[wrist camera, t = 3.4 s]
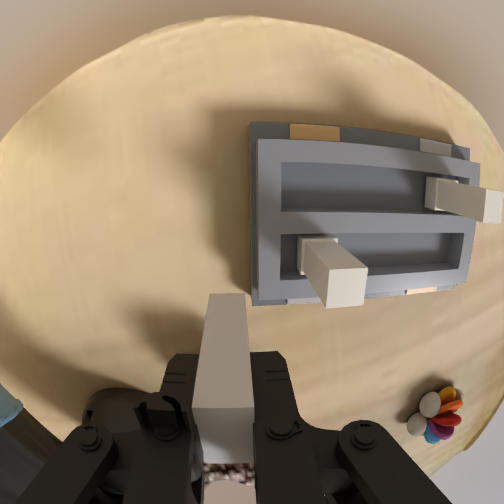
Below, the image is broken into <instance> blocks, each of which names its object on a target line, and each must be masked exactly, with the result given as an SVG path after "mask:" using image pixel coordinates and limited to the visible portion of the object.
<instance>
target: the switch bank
mask: <svg viewBox="0 0 504 504" xmlns="http://www.w3.org/2000/svg"><path fill="white" fill-rule="evenodd" d="M426 176H428V177H436V178H443V179H450V180H456V181H458V183H461V184H466V185H471V186H477V187H479V181H480V164H479V163H475V162H471V161H470V148H466V147H462V146H458V145H453V144H449V143H445V142H440V141H435V140H431V139H426V138H420V137H415V136H410V135H404V134H398V133H391V132H385V131H377V130H370V129H362V128H353V127H343V126H332V125H319V124H303V123H277V122H250V124H249V185H250V265H251V300H252V306H265V305H285V304H303V303H319V302H322V301H321V300H320V298H319V296H318V295H317V293H316V292H315V290H314V288H313V287H312V285H311V283H310V282H309V280H308V279H307V277H306V276H305V275H301V274H300V273H299V271H298V269H297V240H298V234H329V233H331V234H333V235H334V236H335V237H337V238H338V244H340V245H341V246H342V247H343V248H345V249H346V250H347V251H348V252H350V253H351V254H352V255H353V256H354V257H356V258H357V259H358V260H359V261H361V262H362V263H363V264H364V265H365V266H367V267H368V273H367V281H366V288H365V295H364V299H368V298H379V297H389V296H398V295H407V294H416V293H424V292H432V291H440V290H447V289H454V287H455V284H461V283H466V278H467V274H468V269H469V264H470V259H471V253H472V247H473V241H474V234H475V226H476V220H473V219H470V218H467V217H464V216H461V215H458V214H455V213H452V212H448V211H442V210H433V209H429V208H426V207H425V193H426Z"/></svg>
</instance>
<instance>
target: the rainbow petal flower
mask: <svg viewBox="0 0 504 504" xmlns="http://www.w3.org/2000/svg"><path fill="white" fill-rule="evenodd" d="M463 402H464V395H463V393H462V391H461V390H459V389H456V388H453V387H450V386H449V387H446V388H444V389H442V390H441V391H440V392H439V393H438V394H437V393H436V392H429V393H427V394H426V395H424V396H423V398H422V399H421V401H420V405H419V409H420V412H417V413H415V414H413V415H412V416H411V417H410V418H409V420H408V423H407V429H408V432H409V433H410V434H411V435H413V436H424V437H425V439H426V441H427V442H428V443H431V444H435V443H438V442H439V441H440V440H441V439H442V440H446V439H448V438H450V437H451V436H452V435H453V433H454V426H457V425H459V424H460V422H461V417H460V416H459V415H457V414H454V412H456V411H458V410H459V409H460V408H461V407H462V405H463Z"/></svg>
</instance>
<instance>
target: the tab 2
mask: <svg viewBox="0 0 504 504" xmlns="http://www.w3.org/2000/svg"><path fill="white" fill-rule="evenodd" d="M503 194H504V192H501V191H496V190H491V189H487V188H482V187H477V186H471V185H466V184H461V183H458V181H456V180H450V179H443V178H436V177H428V176H426V193H425V207H426V208H429V209H433V210H442V211H448V212H452V213H455V214H458V215H461V216H464V217H467V218H470V219H473V220H476V221H479V222H482V223H497V224H501V216H502V206H503Z"/></svg>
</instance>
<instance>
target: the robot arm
mask: <svg viewBox="0 0 504 504" xmlns="http://www.w3.org/2000/svg"><path fill="white" fill-rule="evenodd" d="M203 458H204V462H205V463H254V471H255V490H256V503H257V504H326V500H325V496H326V497H327V499H328V501H329V502H330V504H452V503H451V502H450V501H449V500H448V499H447V497H446V496H445V495H444V494H443V493H442V492H441V491H440V490H439V489H438V488H437V487H436V486H435V484H434V483H433V482H432V481H431V480H430V479H429V478H428V476H427V475H426V474H425V473H424V472H423V471H422V470H421V469H420V468H419V466H418V465H417V464H416V463H415V462H414V461H413V460H412V459H411V457H410V456H409V455H408V454H407V453H406V452H405V451H404V450H403V448H402V447H401V446H400V445H399V444H398V443H397V442H396V441H395V439H394V438H393V437H392V436H391V435H390V434H389V433H388V432H387V430H386V429H385V428H383V427H382V426H381V425H380V424H378V423H375V422H372V421H369V420H358V421H354V422H351V423H349V424H348V425H346V426H344V427H343V429H342V430H341V431H337V430H326V429H320V428H316V427H314V426H311V425H309V424H308V423H307V422H305V421H304V420H303V419H302V418H301V416H300V414H299V412H298V408H297V404H296V400H295V396H294V392H293V388H292V384H291V380H290V376H289V372H288V367H287V363H286V360H285V359H284V357H283V356H282V355H281V354H280V353H279V352H278V351H271V352H250V351H249V339H248V326H247V313H246V300H245V293H225V294H210V296H209V302H208V307H207V313H206V319H205V325H204V331H203V337H202V343H201V349H200V354H176V355H175V356H174V357H173V358H172V359H171V360H170V361H169V362H168V364H167V368H166V371H165V375H164V378H163V383H162V385H161V389H160V392H154V393H151V394H146V393H143V392H139V391H135V390H130V389H121V388H112V389H105V390H101V391H99V392H97V393H95V394H94V395H93V396H92V397H91V398H90V399H89V401H88V403H87V405H86V407H85V409H84V412H83V416H82V425H80V426H78V427H76V428H75V429H74V430H73V431H72V432H71V433H70V434H69V435H68V437H67V438H66V439H65V440H64V441H63V442H62V441H60V440H59V439H58V438H57V437H56V436H54V435H53V434H52V433H51V432H50V431H49V430H47V429H46V428H45V427H44V426H43V425H42V424H41V423H40V422H38V421H37V420H36V419H35V418H34V417H33V416H32V415H31V414H30V413H29V412H28V411H27V410H26V409H25V408H24V407H23V404H22V403H21V401H20V400H19V399H15V398H14V397H13V396H12V395H11V394H10V393H9V392H8V391H7V390H6V389H5V388H4V387H3V386H2V385H1V384H0V504H203V501H204V480H205V478H204V473H203ZM324 494H325V496H324Z"/></svg>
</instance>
